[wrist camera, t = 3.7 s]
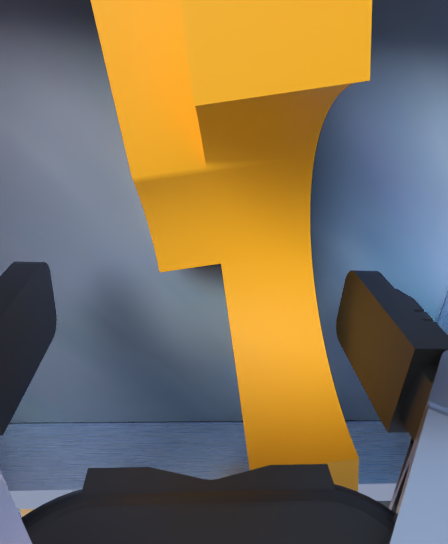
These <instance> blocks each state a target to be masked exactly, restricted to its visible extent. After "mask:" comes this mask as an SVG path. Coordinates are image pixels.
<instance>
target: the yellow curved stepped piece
mask: <svg viewBox="0 0 448 544" xmlns="http://www.w3.org/2000/svg"><path fill="white" fill-rule="evenodd" d="M91 5H92V9H93V13H94V17H95V22H96V26H97V30H98V34H99V39H100V43H101V47H102V52H103V56H104V60H105V64H106V69H107V73H108V77H109V82H110V86H111V90H112V94H113V99H114V103H115V107H116V111H117V116H118V120H119V124H120V129H121V133H122V137H123V141H124V146H125V150H126V154H127V159H128V163H129V167H130V171H131V176H132V179H133V181H134V184H135V186H136V189H137V192H138V194H139V197H140V200H141V203H142V206H143V209H144V212H145V216H146V219H147V222H148V226H149V229H150V233H151V237H152V241H153V245H154V249H155V253H156V257H157V262H158V266H159V271H160V272H165V271H172V270H179V269H186V268H193V267H200V266H207V265H214V264H221V267H222V274H223V281H224V288H225V295H226V302H227V309H228V316H229V323H230V330H231V337H232V344H233V351H234V358H235V365H236V373H237V380H238V387H239V394H240V402H241V409H242V416H243V424H244V431H245V439H246V446H247V454H248V461H249V469H250V470H253V469H257V468H261V467H265V466H268V465H294V464H328V467H329V470H330V473H331V476H332V479H333V482H334V484H336V485H340V486H343V487H346V488H349V489H352V490H355V491H357V492H358V475H359V457H358V455H357V452H356V450H355V447H354V444H353V442H352V439H351V436H350V434H349V431H348V428H347V425H346V422H345V419H344V416H343V413H342V410H341V407H340V403H339V400H338V397H337V393H336V390H335V386H334V382H333V379H332V375H331V371H330V367H329V363H328V358H327V354H326V350H325V345H324V340H323V335H322V330H321V324H320V319H319V313H318V306H317V300H316V292H315V285H314V276H313V266H312V253H311V233H310V200H311V183H312V173H313V165H314V158H315V153H316V148H317V143H318V139H319V135H320V131H321V128H322V125H323V123H324V120H325V117H326V115H327V113H328V111H329V109H330V107H331V105H332V104H333V102H334V100H335V99H336V98H337V97H338V95H339V94H340V93H341V92H342V91H343V90H344V89H345V88H347V87H348V86H349V85H351V84H354V83H356V82H363V81H370V62H371V27H372V0H91Z"/></svg>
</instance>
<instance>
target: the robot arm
mask: <svg viewBox="0 0 448 544" xmlns="http://www.w3.org/2000/svg"><path fill="white" fill-rule="evenodd" d="M55 330H56V309H55V302H54V295H53V288H52V281H51V274H50V269H49V266H48V264H47V263H45V262H13V263H12V264H11V265H10V266H9V268H8V269H7V270H6V271H5V272H4V273H3V274H2V275H1V276H0V435H3V434H4V432H5V430H6V428H7V426H8V425H9V423H10V421H11V419H12V417H13V415H14V413H15V411H16V409H17V407H18V405H19V403H20V401H21V399H22V397H23V395H24V394H25V392H26V390H27V388H28V386H29V384H30V382H31V380H32V378H33V376H34V374H35V372H36V370H37V368H38V366H39V364H40V362H41V361H42V359H43V357H44V355H45V353H46V351H47V349H48V347H49V345H50V343H51V341H52V339H53V337H54V334H55ZM336 330H337V337H338V340H339V342H340V344H341V346H342V348H343V350H344V352H345V354H346V356H347V357H348V359H349V361H350V363H351V365H352V367H353V369H354V371H355V373H356V374H357V376H358V378H359V380H360V382H361V384H362V386H363V388H364V389H365V391H366V393H367V395H368V397H369V399H370V401H371V403H372V405H373V406H374V408H375V410H376V412H377V414H378V416H379V418H380V420H381V421H382V423H383V425H384V427H385V429H386V431H387V433H405V432H408V433H409V434H410V436H411V440H410V443H409V445H408V448H407V451H406V455H405V458H404V461H403V464H402V467H401V471H400V474H399V477H398V480H397V483H396V487H395V490H394V493H393V496H392V499H391V503H390V506H389V508H387V507H386V506H384V505H383V504H381V503H379V502H377V501H376V500H374V499H372V498H370V497H368V496H366V495H364V494H362V493H360V492H357V491H355V490H352V489H349V488H346V487H343V486H340V485H336V484H334V482H333V479H332V476H331V473H330V470H329V467H328V464H294V465H268V466H265V467H261V468H257V469H253V470H250V471H246V472H242V473H238V474H234V475H231V476H227V477H223V478H219V479H215V480H207V479H202V478H197V477H192V476H188V475H183V474H179V473H174V472H170V471H165V470H161V469H156V468H151V467H119V468H88V470H87V474H86V477H85V481H84V485H83V489H80V490H77V491H73V492H70V493H68V494H65V495H62V496H60V497H57V498H55V499H53V500H51V501H49V502H47V503H45V504H43V505H41V506H39V507H37V508H36V509H34V510H32V511H31V512H29V513H27V514H26V515H25V516H23V517H22V518H21V517H20V515H19V512H18V510H17V508H16V505H15V503H14V501H13V498H12V496H11V494H10V492H9V489H8V487H7V485H6V482H5V480H4V478H3V475H2V473H1V471H0V544H448V335H447V334H446V333H445V332H444V331H443V330H442V328H441V327H440V326H439V325H438V324H437V323H436V322H433V319H432V318H431V317H430V316H429V315H428V314H427V313H426V312H424V309H423V308H422V307H421V306H420V305H419V304H418V303H417V302H416V301H415V300H414V299H413V298H411V297H410V296H408V295H406V294H404V293H403V292H401V291H399V290H398V289H394V288H393V286H392V285H391V284H390V283H389V282H388V281H387V280H386V279H385V278H384V276H383V275H382V274H381V273H380V272H378V271H350V272H349V273H348V274H347V276H346V279H345V284H344V288H343V293H342V298H341V302H340V307H339V312H338V316H337V323H336Z"/></svg>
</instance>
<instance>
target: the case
mask: <svg viewBox="0 0 448 544" xmlns="http://www.w3.org/2000/svg"><path fill="white" fill-rule="evenodd" d="M438 325H439V326H440V327H441V328H442V330H443V331H444V332H445V333H446V334H447V335H448V295H447V297H446V300H445V303H444V306H443V309H442V312H441V315H440V318H439V321H438ZM345 422H346V425H347V428H348V431H349V434H350V436H351V439H352V442H353V444H354V447H355V450H356V452H357V455H358V457H359V475H358V492H360V493H362V494H364V495H366V496H368V497H370V498H372V499H374V500H376V501H391V499H392V496H393V493H394V490H395V487H396V483H397V480H398V477H399V474H400V471H401V467H402V464H403V461H404V458H405V455H406V451H407V448H408V445H409V443H410V440H411V436H410V434H409V433H408V432H405V433H387V431H386V429H385V427H384V425H383V423H382V421H345ZM119 467H151V468H156V469H161V470H165V471H170V472H174V473H179V474H183V475H188V476H192V477H197V478H202V479H207V480H215V479H219V478H223V477H227V476H231V475H234V474H238V473H242V472H246V471H250V469H249V461H248V454H247V446H246V439H245V431H244V424H243V422H180V423H40V424H9V425H8V426H7V428H6V430H5V432H4V434H3V435H0V471H1V473H2V475H3V478H4V480H5V482H6V485H7V487H8V489H9V492H10V494H11V496H12V498H13V501H14V503H15V505H16V508H17V509H36V508H37V507H39V506H41V505H43V504H45V503H47V502H49V501H51V500H53V499H55V498H57V497H60V496H62V495H65V494H68V493H70V492H73V491H77V490H80V489H83V485H84V481H85V477H86V474H87V470H88V468H119Z"/></svg>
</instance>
